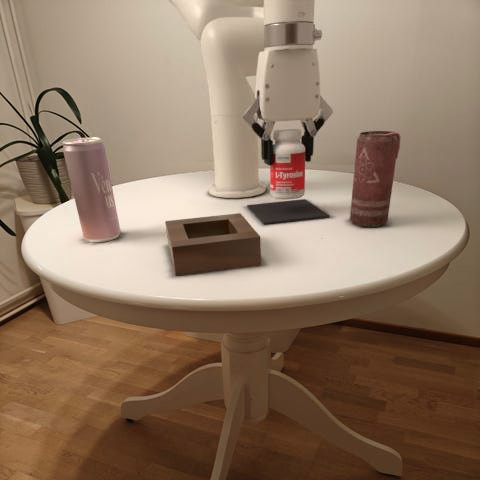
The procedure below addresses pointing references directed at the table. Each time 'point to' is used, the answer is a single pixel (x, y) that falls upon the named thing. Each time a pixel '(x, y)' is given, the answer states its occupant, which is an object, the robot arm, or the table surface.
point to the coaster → (286, 211)
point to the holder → (212, 244)
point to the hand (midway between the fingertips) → (287, 161)
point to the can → (373, 177)
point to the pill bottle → (287, 165)
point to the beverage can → (92, 188)
